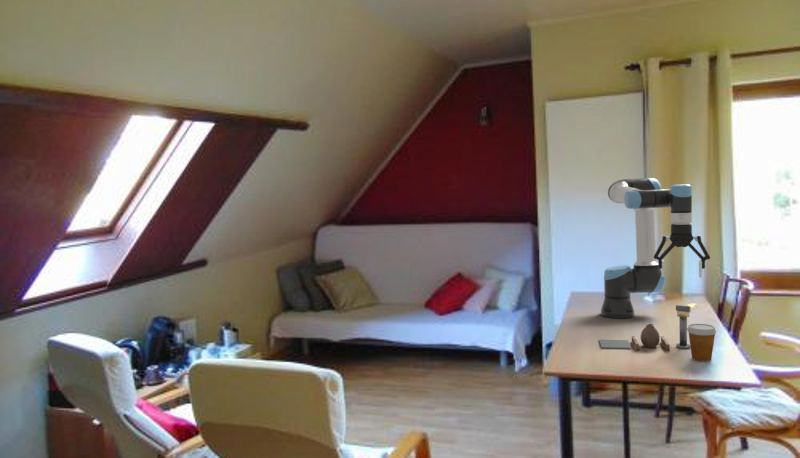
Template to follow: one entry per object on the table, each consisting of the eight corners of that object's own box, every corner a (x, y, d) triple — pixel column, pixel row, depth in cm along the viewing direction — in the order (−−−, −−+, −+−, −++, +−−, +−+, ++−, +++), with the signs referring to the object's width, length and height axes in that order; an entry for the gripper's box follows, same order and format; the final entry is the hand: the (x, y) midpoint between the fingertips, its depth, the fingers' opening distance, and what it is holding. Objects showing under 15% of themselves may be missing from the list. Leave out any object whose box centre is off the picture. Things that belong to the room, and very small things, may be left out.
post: (674, 345, 239) (674, 314, 238) (688, 345, 238) (688, 314, 237) (677, 348, 234) (677, 317, 233) (691, 349, 233) (691, 317, 232)
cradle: (631, 341, 246) (631, 335, 246) (663, 342, 243) (663, 336, 243) (636, 350, 234) (636, 344, 234) (669, 351, 231) (669, 344, 231)
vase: (648, 349, 234) (648, 327, 234) (636, 345, 241) (636, 323, 240) (663, 347, 236) (663, 325, 236) (651, 343, 243) (651, 321, 242)
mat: (599, 340, 249) (599, 339, 249) (627, 341, 247) (627, 340, 247) (601, 348, 238) (601, 347, 238) (631, 349, 236) (631, 347, 236)
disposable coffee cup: (707, 354, 226) (707, 322, 225) (721, 362, 216) (722, 329, 215) (682, 355, 225) (682, 324, 224) (695, 363, 216) (695, 330, 215)
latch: (700, 308, 246) (700, 298, 245) (688, 317, 232) (688, 307, 231) (686, 307, 249) (686, 297, 249) (674, 316, 235) (674, 306, 234)
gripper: (647, 224, 242) (648, 277, 244) (717, 223, 233) (717, 278, 235) (646, 223, 249) (647, 274, 251) (715, 222, 240) (715, 275, 242)
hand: (681, 276), depth 243 cm, fingers open, 13 cm apart
